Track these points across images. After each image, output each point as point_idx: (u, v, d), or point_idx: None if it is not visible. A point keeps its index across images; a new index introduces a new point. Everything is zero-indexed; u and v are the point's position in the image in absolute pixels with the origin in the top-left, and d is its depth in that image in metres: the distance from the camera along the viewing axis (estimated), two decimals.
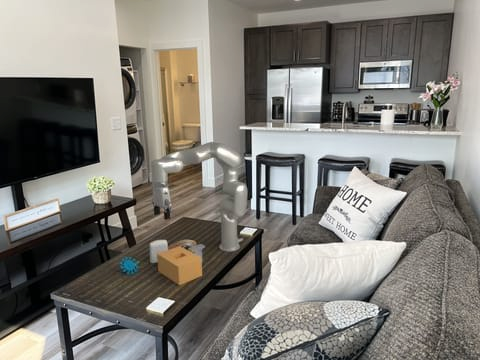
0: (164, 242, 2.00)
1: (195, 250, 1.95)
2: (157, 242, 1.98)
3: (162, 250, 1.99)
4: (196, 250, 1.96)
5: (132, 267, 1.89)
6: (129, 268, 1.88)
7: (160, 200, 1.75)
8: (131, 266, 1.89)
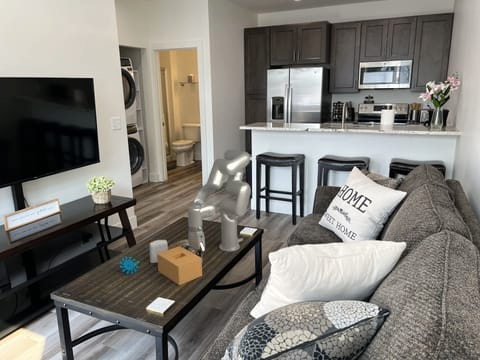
0: (164, 242, 2.00)
1: (195, 250, 1.95)
2: (157, 242, 1.98)
3: (162, 250, 1.99)
4: (196, 250, 1.96)
5: (132, 267, 1.89)
6: (129, 268, 1.88)
7: (196, 243, 1.93)
8: (131, 266, 1.89)
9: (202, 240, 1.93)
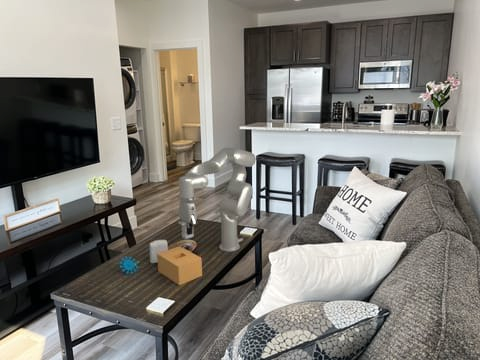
0: (164, 242, 2.00)
1: (186, 223, 1.86)
2: (157, 242, 1.98)
3: (162, 250, 1.99)
4: None
5: (132, 267, 1.89)
6: (128, 268, 1.88)
7: (187, 215, 1.83)
8: (131, 266, 1.89)
9: (193, 212, 1.84)
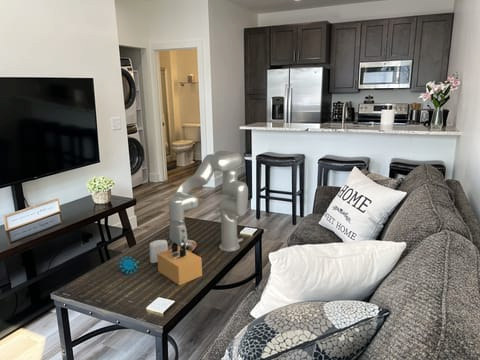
0: (164, 242, 2.00)
1: (178, 257, 1.83)
2: (157, 242, 1.98)
3: (162, 250, 1.99)
4: (179, 257, 1.83)
5: (131, 267, 1.89)
6: (128, 268, 1.88)
7: (177, 237, 1.79)
8: (130, 266, 1.89)
9: (184, 234, 1.79)
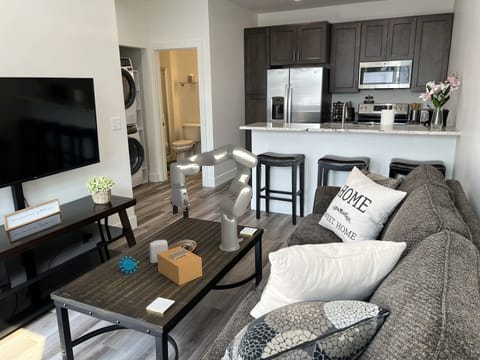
0: (164, 242, 2.00)
1: (178, 257, 1.83)
2: (157, 242, 1.98)
3: (162, 250, 1.99)
4: (179, 257, 1.83)
5: (131, 267, 1.89)
6: (128, 267, 1.88)
7: (179, 200, 1.88)
8: (130, 265, 1.90)
9: (185, 197, 1.89)
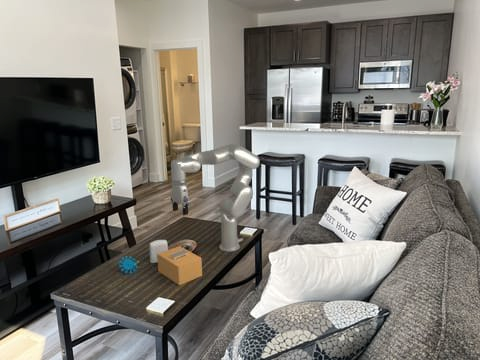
0: (164, 242, 2.00)
1: (178, 257, 1.83)
2: (157, 242, 1.98)
3: (162, 250, 1.99)
4: (179, 257, 1.83)
5: (131, 266, 1.90)
6: (128, 267, 1.88)
7: (179, 197, 1.90)
8: (130, 265, 1.90)
9: (185, 194, 1.91)
